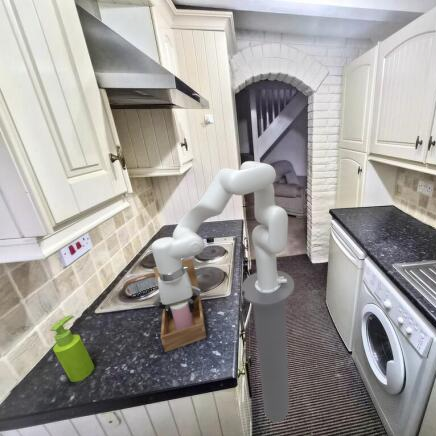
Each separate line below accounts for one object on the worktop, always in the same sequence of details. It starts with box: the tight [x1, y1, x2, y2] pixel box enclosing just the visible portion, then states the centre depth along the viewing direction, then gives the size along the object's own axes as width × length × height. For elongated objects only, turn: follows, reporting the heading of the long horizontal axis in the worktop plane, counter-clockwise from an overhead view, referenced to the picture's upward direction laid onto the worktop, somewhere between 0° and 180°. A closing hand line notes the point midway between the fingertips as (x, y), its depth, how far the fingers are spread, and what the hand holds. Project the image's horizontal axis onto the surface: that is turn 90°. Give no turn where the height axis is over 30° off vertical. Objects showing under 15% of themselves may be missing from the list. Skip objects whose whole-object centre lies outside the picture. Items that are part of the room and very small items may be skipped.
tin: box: [122, 272, 159, 298], centre depth 107 cm, size 15×3×8 cm, turn 126°
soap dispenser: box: [49, 315, 95, 383], centre depth 69 cm, size 6×7×20 cm
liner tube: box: [170, 299, 194, 331], centre depth 85 cm, size 6×6×12 cm
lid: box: [153, 258, 201, 297], centre depth 92 cm, size 16×14×6 cm
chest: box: [160, 296, 207, 353], centre depth 86 cm, size 16×14×7 cm
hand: (181, 312), depth 85 cm, fingers closed on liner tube, 6 cm apart
